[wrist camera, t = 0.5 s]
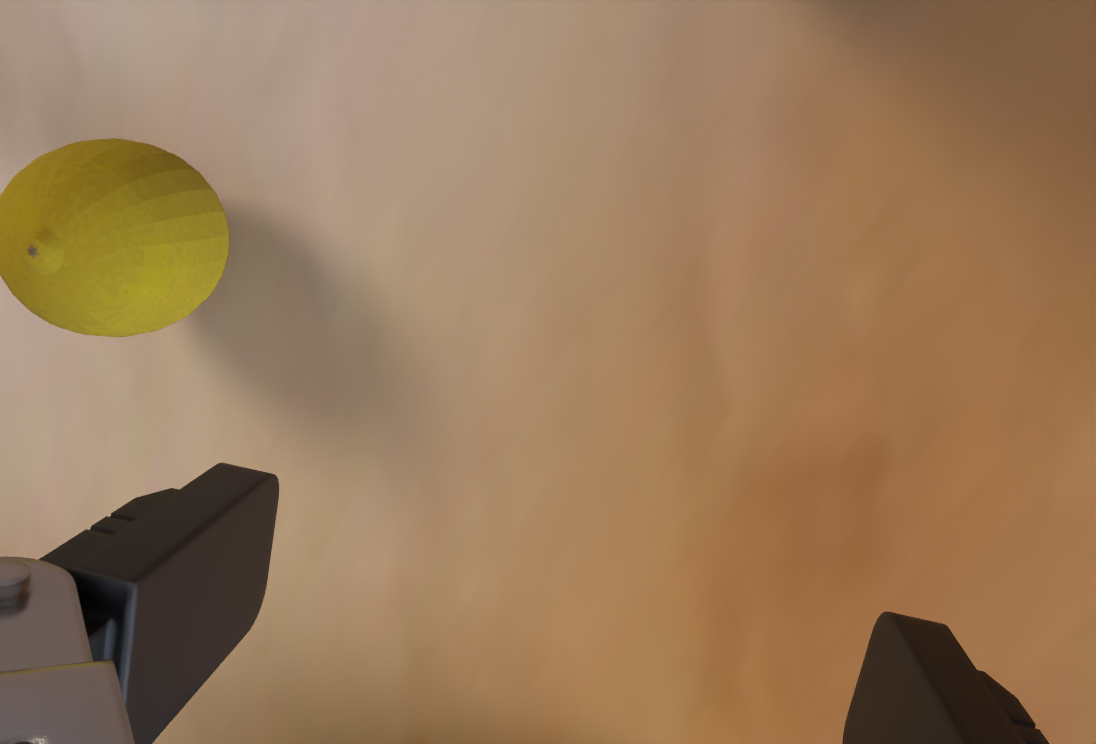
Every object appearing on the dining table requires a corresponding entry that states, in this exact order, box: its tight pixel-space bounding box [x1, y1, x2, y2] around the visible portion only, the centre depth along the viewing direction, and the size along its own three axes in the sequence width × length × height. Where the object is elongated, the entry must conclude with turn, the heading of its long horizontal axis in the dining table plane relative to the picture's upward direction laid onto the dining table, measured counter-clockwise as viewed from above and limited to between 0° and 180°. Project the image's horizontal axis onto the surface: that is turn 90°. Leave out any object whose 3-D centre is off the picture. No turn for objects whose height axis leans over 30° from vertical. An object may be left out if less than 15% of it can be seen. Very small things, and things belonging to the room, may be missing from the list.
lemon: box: [0, 139, 229, 337], centre depth 27 cm, size 6×6×8 cm
